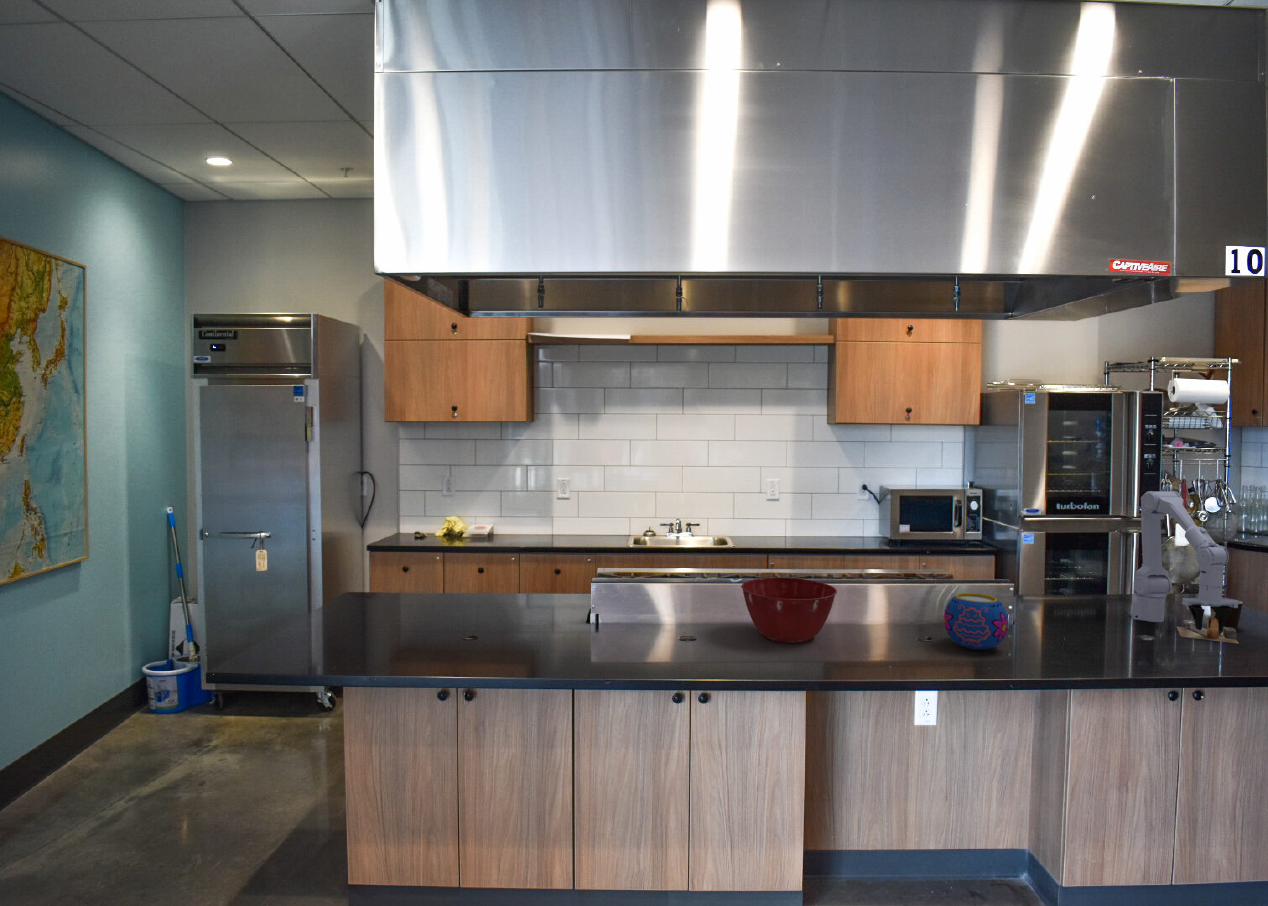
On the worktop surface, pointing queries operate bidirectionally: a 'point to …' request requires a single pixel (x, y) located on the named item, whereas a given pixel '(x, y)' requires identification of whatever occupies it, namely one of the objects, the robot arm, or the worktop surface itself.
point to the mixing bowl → (788, 607)
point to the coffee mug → (1233, 617)
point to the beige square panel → (1226, 636)
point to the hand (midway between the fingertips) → (1208, 629)
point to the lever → (1211, 629)
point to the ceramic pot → (976, 621)
